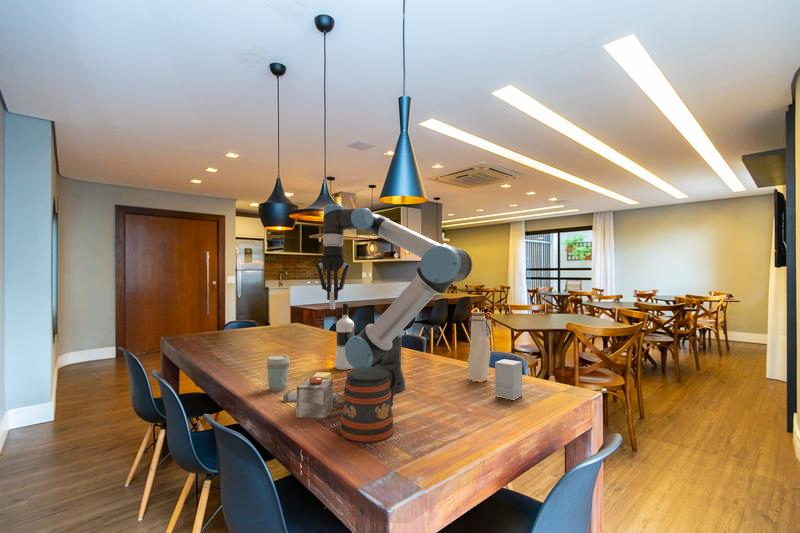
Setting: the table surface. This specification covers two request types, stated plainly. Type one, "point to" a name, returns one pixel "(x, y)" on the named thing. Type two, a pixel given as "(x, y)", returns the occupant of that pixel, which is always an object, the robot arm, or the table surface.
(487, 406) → the table surface
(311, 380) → the plunger
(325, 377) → the carriage
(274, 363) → the coffee cup
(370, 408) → the beer stein
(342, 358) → the vodka
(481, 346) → the water bottle
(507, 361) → the supplement box
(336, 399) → the rail
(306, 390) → the grey open box
